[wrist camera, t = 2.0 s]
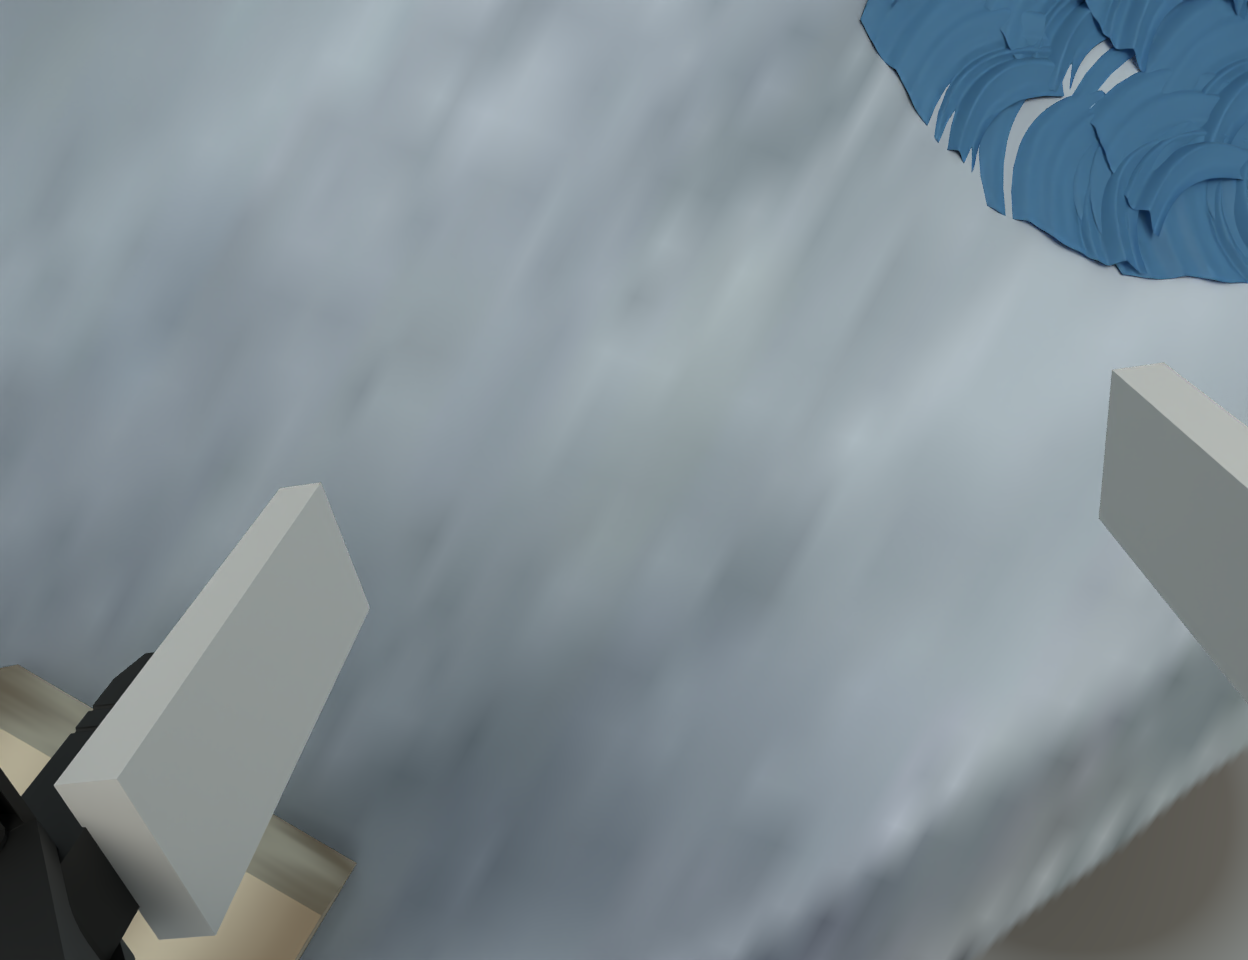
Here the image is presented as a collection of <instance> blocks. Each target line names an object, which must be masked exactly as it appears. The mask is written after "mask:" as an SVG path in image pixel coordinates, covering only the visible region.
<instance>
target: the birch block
mask: <svg viewBox="0 0 1248 960" xmlns="http://www.w3.org/2000/svg"><path fill="white" fill-rule="evenodd" d="M88 711H93V708H91V707H89V706H88V705H86V704H84V703H83V702H81V701H79V700H77V699H76V698H74V697H72V696H71V695H69V694H67V693H65V692H64V691H62V690H60V689H59V688H57V687H55V686H54V685H52V684H50V683H48V682H47V681H45V680H43V679H42V678H40V677H38V676H36V675H35V674H33V673H31V672H30V671H28V670H26V669H25V668H23V667H21V666H19V665H13V666H8V667H3V668H0V768H1V769H2V771H3V772H4V773H5V775H6V776H7V778H8V779H9V780H10V782H11V783H12V785H13V786H14V787H15V789H16V790H17V792H18V793H19V794H20V796H22V794H23V793H24V792H25V791H26V789H27V788H28V787H29V785H30V784H31V783H32V782H33V780H34V779H35V778H36V777H37V775H38V774H39V773H40V772H41V770H42V769H43V768H44V767H45V765H46V764H47V763H48V761H49V760H50V759H51V758H52V756H53V755H54V754H55V753H56V751H57V750H58V749H59V748H60V746H61V745H62V744H63V743H64V741H65V740H66V739H67V737H68V736H69V735H70V734H71V733H75V732H76V729H75V727H76V726H77V725H78V724H79V722H80V721H81V720H82V718H83V717H84V716H85V715H86V713H87V712H88ZM356 864H357V863H355V862H354V861H352V860H350V859H349V858H347V857H345V856H344V855H342V854H340V853H338V852H337V851H335V850H333V849H332V848H330V847H328V846H326V845H325V844H323V843H321V842H320V841H318V840H316V839H315V838H313V837H311V836H309V835H308V834H306V833H304V832H303V831H301V830H299V829H297V828H296V827H294V826H292V825H291V824H289V823H287V822H286V821H284V820H282V819H280V818H279V817H277V816H275V815H274V814H273V815H272V817H271V819H270V821H269V824H268V826H267V828H266V830H265V832H264V834H263V836H262V838H261V840H260V843H259V845H258V847H257V849H256V851H255V853H254V855H253V857H252V860H251V862H250V864H249V866H248V868H247V870H246V872H245V874H244V876H243V879H242V881H241V883H240V885H239V887H238V889H237V891H236V893H235V896H234V898H233V900H232V902H231V904H230V906H229V908H228V910H227V913H226V915H225V917H224V919H223V921H222V923H221V925H220V927H219V929H218V932H217V934H216V935H215V936H202V937H190V938H177V939H164V940H159V939H158V938H157V936H156V935H155V933H154V932H153V931H152V929H151V928H150V926H149V925H148V923H147V922H146V920H145V919H144V917H143V916H142V914H141V913H140V911H139V910H138V911H137V913H136V915H135V916H134V918H133V920H132V922H131V923H130V925H129V927H128V929H127V930H126V932H125V934H124V936H123V937H122V939H123V940H124V942H125V943H126V945H127V946H128V947H129V949H130V950H131V952H132V953H133V954H134V957H135V960H299V959H300V957H301V956H302V954H303V952H304V951H305V949H306V947H307V946H308V944H309V942H310V941H311V939H312V937H313V936H314V934H315V932H316V931H317V929H318V927H319V926H320V924H321V922H322V921H323V919H324V917H325V916H326V914H327V912H328V911H329V909H330V907H331V906H332V904H333V902H334V901H335V899H336V897H337V896H338V894H339V892H340V890H341V889H342V887H343V885H344V884H345V882H346V880H347V879H348V877H349V875H350V874H351V872H352V870H353V869H354V867H355V865H356Z"/></svg>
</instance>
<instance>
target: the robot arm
mask: <svg viewBox="0 0 1248 960" xmlns="http://www.w3.org/2000/svg"><path fill="white" fill-rule="evenodd" d="M1099 519H1100V521H1101V522H1102V523H1103V524H1104V526H1105V527H1106V528H1107V529H1108V531H1109V532H1110V533H1111V534H1112V535H1113V537H1114V538H1115V539H1116V540H1117V542H1118V543H1119V544H1120V545H1121V547H1122V548H1123V549H1124V550H1125V552H1126V553H1127V554H1128V555H1129V557H1130V558H1131V559H1132V560H1133V562H1134V563H1135V564H1136V565H1137V567H1138V568H1139V569H1140V570H1141V572H1142V573H1143V574H1144V575H1145V577H1146V578H1147V579H1148V580H1149V582H1150V583H1151V584H1152V585H1153V587H1154V588H1155V589H1156V590H1157V592H1158V593H1159V594H1160V595H1161V597H1162V598H1163V599H1164V600H1165V601H1166V603H1167V604H1168V605H1169V606H1170V608H1171V609H1172V610H1173V611H1174V613H1175V614H1176V615H1177V616H1178V618H1179V619H1180V620H1181V621H1182V623H1183V624H1184V625H1185V626H1186V628H1187V629H1188V630H1189V631H1190V633H1191V634H1192V635H1193V636H1194V638H1195V639H1196V640H1197V641H1198V643H1199V644H1200V645H1201V646H1202V648H1203V649H1204V650H1205V651H1206V653H1207V654H1208V655H1209V656H1210V658H1211V659H1212V660H1213V661H1214V662H1215V664H1216V665H1217V666H1218V667H1219V669H1220V670H1221V671H1222V672H1223V674H1224V675H1225V676H1226V677H1227V679H1228V680H1229V681H1230V682H1231V684H1232V685H1233V686H1234V687H1235V689H1236V690H1237V691H1238V692H1239V694H1240V695H1241V696H1242V697H1243V699H1244V700H1245V701H1246V702H1247V704H1248V427H1247V426H1246V425H1244V424H1243V423H1242V422H1241V421H1239V420H1238V419H1237V418H1235V417H1234V416H1233V415H1231V414H1230V413H1229V412H1227V411H1226V410H1225V409H1224V408H1222V407H1221V406H1220V405H1218V404H1217V403H1216V402H1214V401H1213V400H1212V399H1211V398H1209V397H1208V396H1207V395H1205V394H1204V393H1203V392H1201V391H1200V390H1199V389H1198V388H1196V387H1195V386H1194V385H1192V384H1191V383H1190V382H1188V381H1187V380H1186V379H1185V378H1183V377H1182V376H1181V375H1179V374H1178V373H1177V372H1175V371H1174V370H1173V369H1172V368H1170V367H1169V366H1168V365H1166V364H1165V363H1157V364H1150V365H1143V366H1136V367H1129V368H1122V369H1115V370H1112V376H1111V387H1110V398H1109V410H1108V421H1107V432H1106V443H1105V455H1104V466H1103V477H1102V488H1101V500H1100V511H1099ZM369 610H370V606H369V604H368V601H367V599H366V596H365V594H364V591H363V588H362V586H361V583H360V581H359V578H358V576H357V573H356V571H355V568H354V565H353V563H352V560H351V558H350V555H349V553H348V550H347V547H346V545H345V542H344V540H343V537H342V535H341V532H340V530H339V527H338V524H337V522H336V519H335V517H334V514H333V512H332V509H331V507H330V504H329V501H328V499H327V496H326V494H325V491H324V489H323V486H322V483H321V482H320V483H313V484H305V485H298V486H291V487H284V488H280V489H279V490H278V491H277V493H276V494H275V495H274V496H273V498H272V499H271V500H270V502H269V503H268V504H267V506H266V507H265V508H264V510H263V511H262V512H261V514H260V515H259V516H258V517H257V519H256V520H255V521H254V523H253V524H252V525H251V527H250V528H249V529H248V531H247V532H246V533H245V535H244V536H243V537H242V539H241V540H240V541H239V542H238V544H237V545H236V546H235V548H234V549H233V550H232V552H231V553H230V554H229V556H228V557H227V558H226V560H225V561H224V562H223V563H222V565H221V566H220V567H219V569H218V570H217V571H216V573H215V574H214V575H213V577H212V578H211V579H210V581H209V582H208V583H207V584H206V586H205V587H204V588H203V590H202V591H201V592H200V594H199V595H198V596H197V598H196V599H195V600H194V602H193V603H192V604H191V605H190V607H189V608H188V609H187V611H186V612H185V613H184V615H183V616H182V617H181V619H180V620H179V621H178V623H177V624H176V625H175V626H174V628H173V629H172V630H171V632H170V633H169V634H168V636H167V637H166V638H165V640H164V641H163V642H162V644H161V645H160V646H159V647H158V649H157V650H156V651H155V652H153V653H145V654H144V655H143V656H142V657H140V658H139V659H138V660H137V661H135V662H134V663H133V664H132V665H130V666H129V667H128V668H127V669H125V670H124V671H123V672H122V673H120V674H119V675H118V676H117V677H115V678H114V679H113V681H112V682H111V683H110V684H109V686H108V687H107V688H106V689H105V691H104V692H103V693H102V694H101V696H100V697H99V698H98V700H97V701H96V702H95V703H94V705H93V711H88V712H87V713H86V715H85V716H84V717H83V718H82V720H81V721H80V722H79V724H78V725H77V726H76V727H75V729H76V732H75V733H71V734H70V735H69V736H68V737H67V739H66V740H65V741H64V743H63V744H62V745H61V746H60V748H59V749H58V750H57V751H56V753H55V754H54V755H53V756H52V758H51V759H50V760H49V761H48V763H47V764H46V765H45V767H44V768H43V769H42V770H41V772H40V773H39V774H38V775H37V777H36V778H35V779H34V780H33V782H32V783H31V784H30V785H29V787H28V788H27V789H26V791H25V792H24V793H23V794H22V796H20V794H19V793H18V792H17V790H16V789H15V787H14V786H13V785H12V783H11V782H10V780H9V779H8V778H7V776H6V775H5V773H4V772H3V771H2V769H1V768H0V960H135V957H134V954H133V953H132V952H131V950H130V949H129V947H128V946H127V945H126V943H125V942H124V940H123V939H122V937H123V936H124V934H125V932H126V930H127V929H128V927H129V925H130V923H131V922H132V920H133V918H134V916H135V915H136V913H137V911H138V910H139V911H140V913H141V914H142V916H143V917H144V919H145V920H146V922H147V923H148V925H149V926H150V928H151V929H152V931H153V932H154V933H155V935H156V936H157V938H158V939H159V940H164V939H177V938H190V937H202V936H215V935H216V934H217V932H218V929H219V927H220V925H221V923H222V921H223V919H224V917H225V915H226V913H227V910H228V908H229V906H230V904H231V902H232V900H233V898H234V896H235V893H236V891H237V889H238V887H239V885H240V883H241V881H242V879H243V876H244V874H245V872H246V870H247V868H248V866H249V864H250V862H251V860H252V857H253V855H254V853H255V851H256V849H257V847H258V845H259V843H260V840H261V838H262V836H263V834H264V832H265V830H266V828H267V826H268V824H269V821H270V819H271V817H272V815H273V813H274V811H275V809H276V807H277V804H278V802H279V800H280V798H281V796H282V794H283V792H284V790H285V788H286V785H287V783H288V781H289V779H290V777H291V775H292V773H293V771H294V768H295V766H296V764H297V762H298V760H299V758H300V756H301V754H302V752H303V749H304V747H305V745H306V743H307V741H308V739H309V737H310V735H311V732H312V730H313V728H314V726H315V724H316V722H317V720H318V718H319V716H320V713H321V711H322V709H323V707H324V705H325V703H326V701H327V699H328V696H329V694H330V692H331V690H332V688H333V686H334V684H335V682H336V680H337V677H338V675H339V673H340V671H341V669H342V667H343V665H344V663H345V660H346V658H347V656H348V654H349V652H350V650H351V648H352V646H353V644H354V641H355V639H356V637H357V635H358V633H359V631H360V629H361V627H362V624H363V622H364V620H365V618H366V616H367V614H368V612H369Z"/></svg>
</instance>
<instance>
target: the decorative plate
mask: <svg viewBox="0 0 1248 960" xmlns="http://www.w3.org/2000/svg"><path fill="white" fill-rule="evenodd" d="M860 20H861V22H862V23H863V25H864V27H865V29H866V31H867V33H868V35H869V37H870V39H871V40H872V42H873V44H874V45H875V47H876V49H877V51H878V53H879V55H880V56H881V58H882V59H883V60H884V62H885V63H887V64H888V65H889V66H891V67H893V68H894V69H896V71H897V72H898V74H899V76H900V78H901V80H902V82H903V84H904V86H905V88H906V90H907V92H908V93H909V96H910V98H911V101H912V103H913V105H914V107H915V109H916V111H917V112H918V114H919V115H920V117H921V118H922V119H923V121H924V122H925V123H926V125H928V123H929V121H930V118H931V116H932V113H933V111H934V108H935V106H936V104H937V102H938V101H939V99H940V97H941V95H942V94H943V92H944V90H945V89H946V87H947V86H948V85H949V84H950V86H949V88H948V89H947V91H946V94H945V96H944V99H943V102H942V104H941V107H940V109H939V112H938V117H937V123H936V129H935V138H936V140H937V141H938V143H939V140H940V138H941V136H942V133H943V131H944V129H945V126H946V124H947V122H948V120H949V118H950V117H951V115H952V114H953V112H954V111H955V115H954V118H953V122H952V125H951V131H950V137H949V143H948V149H947V150H958V151H960V154H961V157H962V160H963V162H965V160H966V158H967V155H968V153H969V151H970V149H971V148H972V170H974V167H973V165H975V159H976V154H977V151H978V148H979V161H980V174H981V180H982V184H983V189H984V193H985V198H986V202H987V206H989V207H991V208H994V209H995V210H997V211H998V212H1000V213H1001V214H1003V215H1005V204H1004V192H1003V167H1004V158H1005V151H1006V145H1007V140H1008V136H1009V133H1010V130H1011V127H1012V124H1013V122H1014V120H1015V117H1016V115H1017V113H1018V112H1019V110H1020V108H1021V106H1022V105H1023V103H1024V102H1025V100H1026V99H1027V98H1033V97H1040V96H1056V97H1057V96H1064V93H1063V86H1062V81H1063V78H1064V76H1065V74H1066V72H1067V70H1068V68H1069V66H1070V65H1071V64H1072V70H1071V79H1070V88H1071V86H1072V82H1073V79H1074V76H1075V74H1076V72H1077V69H1078V67H1079V66H1080V64H1081V62H1082V60H1083V59H1084V57H1085V56H1086V55H1087V54H1088V52H1089V51H1090V50H1091V49H1092V48H1094V47H1095V46H1096V45H1097V44H1099V43H1100V42H1102V41H1103V40H1105V39H1107V38H1110V39H1111V41H1112V44H1113V45H1114V47H1112V48H1111V49H1109V50H1108V51H1107V52H1106V53H1105V54H1103V55H1102V56H1101V57H1100V58H1099V59H1098V61H1097V62H1096V63H1095V64H1094V65H1093V66H1092V67H1091V68H1090V70H1089V71H1088V72H1087V73H1086V74H1085V76H1084V78H1083V79H1082V81H1081V82H1080V84H1079V85H1078V87H1077V89H1076V90H1075V92H1074V93H1073V95H1072V96H1069V97H1067V98H1064V99H1062V100H1060V101H1058V102H1056V103H1055V104H1053V105H1052V106H1050V107H1049V108H1047V109H1046V110H1045V111H1044V112H1042V113H1041V114H1040V115H1039V116H1038V117H1037V118H1036V119H1035V120H1034V122H1033V123H1032V124H1031V126H1030V127H1029V128H1028V130H1027V132H1026V133H1025V135H1024V137H1023V139H1022V141H1021V143H1020V146H1019V149H1018V152H1017V156H1016V160H1015V164H1014V167H1013V178H1012V189H1011V195H1012V214H1013V219H1018V220H1027V221H1030V222H1031V223H1033V224H1034V225H1036V226H1037V227H1039V228H1040V229H1042V230H1043V231H1045V232H1047V233H1049V234H1050V235H1052V236H1053V237H1055V238H1056V239H1057V240H1059V241H1060V242H1062V243H1063V244H1065V245H1066V246H1068V247H1070V248H1072V249H1075V250H1077V251H1080V252H1081V253H1083V254H1084V255H1085V256H1087V257H1088V258H1091V259H1095V260H1098V261H1100V262H1102V263H1103V264H1105V265H1113V264H1116V266H1117V267H1118V269H1119V270H1120V272H1121V273H1122V274H1123V275H1132V276H1138V277H1144V278H1154V279H1170V278H1176V277H1181V276H1194V277H1200V278H1207V279H1213V280H1217V281H1221V282H1228V283H1236V282H1246V283H1248V0H868V2H867V4H866V6H865V9H864V11H863V14H862V17H861V19H860ZM1135 55H1136V59H1137V63H1138V66H1139V69H1140V72H1138V73H1135V74H1133V75H1132V76H1130V77H1129V78H1127V79H1125V80H1124V81H1122V82H1120V83H1119V84H1117V85H1116V86H1115V87H1113V88H1112V89H1111V90H1110V91H1109V92H1108V93H1106V94H1105V93H1104V92H1103V91H1097V90H1098V89H1099V88H1100V87H1101V85H1102V84H1103V83H1104V82H1105V81H1106V79H1107V78H1108V77H1109V76H1110V75H1111V74H1112V73H1113V72H1114V71H1115V70H1116V69H1118V68H1119V67H1120V66H1121V65H1122V64H1123V63H1124V62H1126V61H1127V60H1128V59H1130V58H1131V57H1133V56H1135ZM1092 105H1094V106H1093V107H1091V106H1092ZM1090 107H1091V108H1090ZM979 145H980V146H979Z"/></svg>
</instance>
